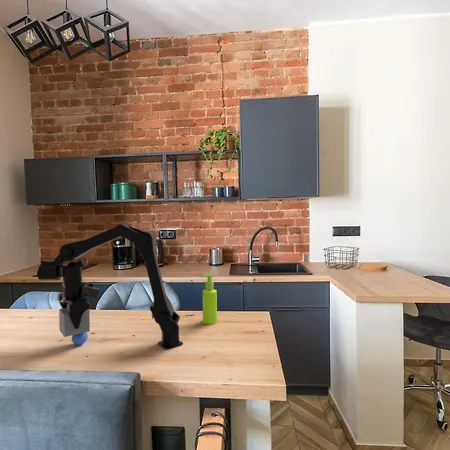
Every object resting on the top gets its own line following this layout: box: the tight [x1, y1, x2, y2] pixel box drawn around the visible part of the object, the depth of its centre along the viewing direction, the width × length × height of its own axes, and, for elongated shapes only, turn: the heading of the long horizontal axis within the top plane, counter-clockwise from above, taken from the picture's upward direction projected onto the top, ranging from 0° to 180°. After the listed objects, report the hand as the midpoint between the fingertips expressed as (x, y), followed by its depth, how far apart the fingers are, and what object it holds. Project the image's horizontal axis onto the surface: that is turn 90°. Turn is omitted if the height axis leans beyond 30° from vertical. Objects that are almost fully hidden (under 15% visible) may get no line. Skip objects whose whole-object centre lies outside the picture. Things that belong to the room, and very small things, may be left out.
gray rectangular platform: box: [58, 308, 91, 338], centre depth 103 cm, size 8×8×7 cm
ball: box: [71, 332, 89, 346], centre depth 105 cm, size 5×5×5 cm
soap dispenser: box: [199, 273, 218, 325], centre depth 126 cm, size 6×7×20 cm
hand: (73, 325), depth 103 cm, fingers closed on gray rectangular platform, 8 cm apart
